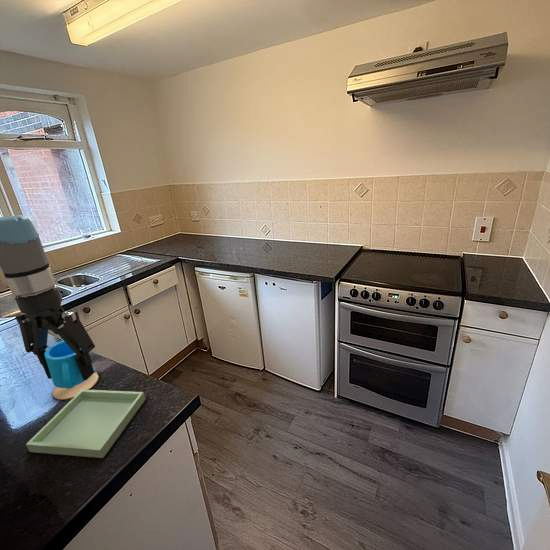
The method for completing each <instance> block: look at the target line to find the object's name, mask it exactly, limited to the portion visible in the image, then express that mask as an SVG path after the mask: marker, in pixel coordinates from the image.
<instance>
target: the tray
mask: <svg viewBox="0 0 550 550" xmlns="http://www.w3.org/2000/svg"><path fill="white" fill-rule="evenodd" d="M146 400H147V398H146V395H145V392H144V391H127V390H125V391H124V390H105V389H104V390H101V389H90V390H81V391H80V392H79V393H78V394H77V395H76V396H75V397H74V398H72V399H70V401H68V403H66V404H65V405H64V406H63V407H62V408H61V409H60V410H59V411H58V412H57V413H56V414H55V415H53V417H52V418H51V419H50V420H49V421H48V422H47V423H46V424H45V425H44V426H42V428H41V429H40V430H39V431H38V432H36V433H35V434H34V436H33V437H31V438H30V439H29V441H27V443H26V444H25V446H26V448H27V450H28V451H29V453H37V454H50V455H59V456H60V455H61V456H74V457H85V458H98V459H104V458H105V456H106V455H107V454H108V453H109V452H110V450H111V448H112V447H113V445H114V444H115V443H116V441H118V439H119V437H120V436H121V435H122V433H123V432H124V430H125V429H126V427H127V426H128V425H129V423H130V422H131V420H132V419H133V418H134V416H135V415H136V413H138V411H139V410H140V408H141V406H142V405H143V404H144V403H145V402H146Z"/></svg>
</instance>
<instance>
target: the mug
mask: <svg viewBox="0 0 550 550" xmlns="http://www.w3.org/2000/svg"><path fill="white" fill-rule="evenodd" d="M45 350H46V351H45V353H44V354H45V359H46V362H47V365H48V368H49V371H50V374H51V380H52V383H53V385H54V386H55V388H56V387H59V388H67V389H71V388H73V387H74V386H76V385H79V384H80V383H82V382H84V381H85V380H83V378H82V375H81V373H80V370H79V368H78V365H77V363H76V360H75V358H74V357H75V356H76V353H75V352H74V351H73V350H72V349H71V348H70V347H69V346H68V345H67V343H66V342H65V341H64V340H63V339H62V340H59V341H58V342H55V343H53V344H52V345H49V347H48V348H47V349H45ZM80 350H81V349H80Z"/></svg>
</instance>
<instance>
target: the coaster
mask: <svg viewBox="0 0 550 550" xmlns="http://www.w3.org/2000/svg"><path fill="white" fill-rule="evenodd" d="M99 379H100V377H99V374H98V372H97V371H94V373H93V374H92V375H91V376H90V377H89V378H88V379H87V380H85V381H84V382H82V383H80V384H79V385H76V386H74V387H73V388H71V389H67V388H59V387H56V386H55V388H54V389H53V392H52V396H53V398H54V399H56V400H57V401H68V400H72V399H73V398H74V397H75V396H76V395H77V394H78V393H79V392H80V391H81V390H92V389H93V388H94V387H95V385H97V384H98V381H99Z"/></svg>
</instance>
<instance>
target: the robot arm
mask: <svg viewBox="0 0 550 550" xmlns="http://www.w3.org/2000/svg"><path fill="white" fill-rule="evenodd" d="M0 269H1V271H2V273H3V276H4V279H5V280H6V283H7V285H8V288H9V290H10V292H11V294H12V295H13V296H15V297H14V301H15V302H16V304H17V307H18V310H19V312H21V313H18V314H17V315H15V316H14V318H15V320H16V323H17V324H18V327H19V329H20V333H21V338H22V342H23V346H24V351H25V352H26V353H28V354H30V353H33V355H34V356H36V357H37V360H38V361H39V364H40V365H41V366H42V368H43V370H44V373H45V375H46V377H47V379H51V380H52V378H51V374H50V371H49V368H48V365H47V362H46V359H45V354H44V353H45V351H46V350H47V349H48V348H49V347H50V345H48V338H49V337H48V336H49V331H51V332H52V333H53V334H55V335H58V336H59V337H60V338H61V339H62V341H63V340H64V341H65V342H66V343H67V345H68V346H69V347H70V348H71V349H72V350H73V351H74V352H75V353H76V356H75V357H74V358H75V360H76V363H77V365H78V368H79V370H80V373H81V375H82V378H83V380H87V379H88V378H89V377H90V376H91V375H92V374H93V373H94V372H95V370H94V368H93V364H92V363H93V360H92V358H91V355H90V352H91V351H93V350H94V349H95V348H96V345H95V343H94V342H93V340H92V338H91V336H90V335H89V333H88V331H87V329H86V328H85V327H84V325H83V323H82V321H81V320H80V315H79V312H78V311H77V310H72V311H70V312H69V311H65V309H64V308H63V307H62V302H63V296H62V294H61V291H60V289H59V286H57V285H56V283H57V281H56V278H55V276H54V274H53V270H52V269H51V265H50V263H49V260H48V257H47V254H46V252H45V249H44V246H43V244H42V241H41V238H40V234H39V232H38V231H37V229H36V227H35V224H34V221H32V218H30V216H28V215H24V214H16V215H7V216H0ZM80 349H81V350H80Z"/></svg>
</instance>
